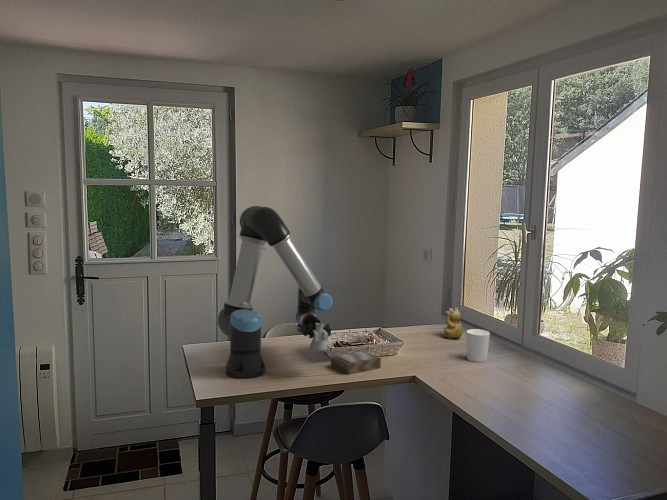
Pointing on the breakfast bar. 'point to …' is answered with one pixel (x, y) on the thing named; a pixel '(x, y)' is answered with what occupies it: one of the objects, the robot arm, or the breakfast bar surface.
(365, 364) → the walnut stand
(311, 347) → the flask
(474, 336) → the candle holder
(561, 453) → the breakfast bar surface
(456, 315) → the decorative figurine
